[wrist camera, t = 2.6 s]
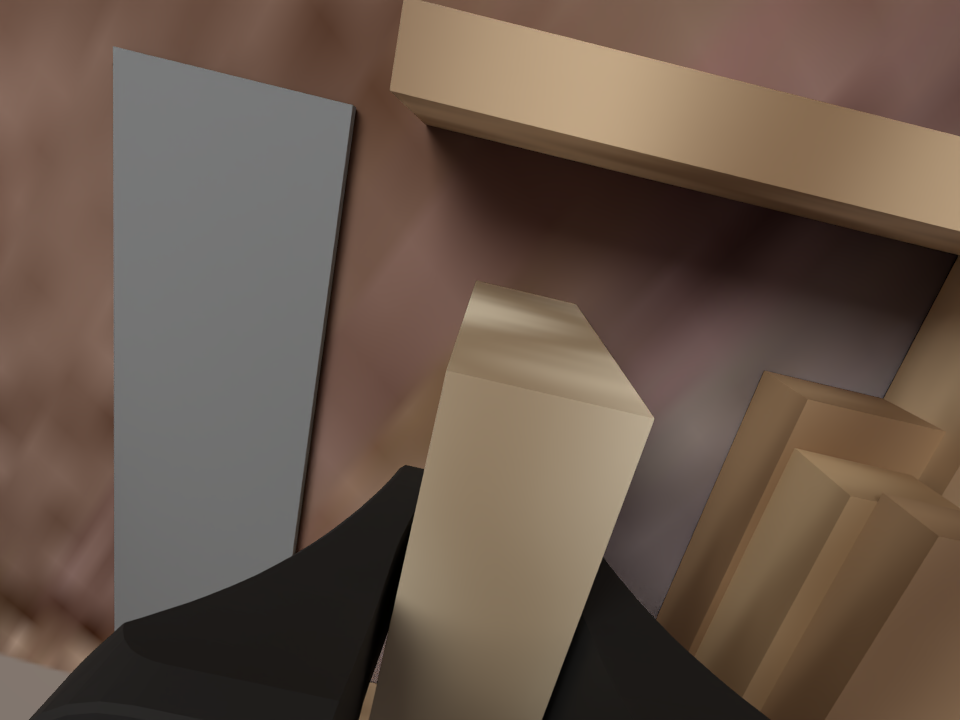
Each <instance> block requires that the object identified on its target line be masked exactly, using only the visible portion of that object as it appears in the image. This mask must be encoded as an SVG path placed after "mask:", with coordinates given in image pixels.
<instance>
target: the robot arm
mask: <svg viewBox="0 0 960 720" xmlns="http://www.w3.org/2000/svg"><path fill="white" fill-rule="evenodd" d="M423 474H424V469H421V468H416V467H412V466H407V465H405V466H403V467H401V468H400V469H399V470H398V471H397V472H396V474H395V475H394V476H393V477H392V478H391V479H390V480H389V481H388V482H387V483H386V485H385V486H383V487H382V488H381V489H380V490H379V491H378V492H377V493H376V494H375V495H374V496H373V497H372V498H371V499H370V500H369V501H367V502H366V503H365V504H364V505H363V506H362V507H361V508H360V509H358V510H357V511H356V512H355V513H353V514H352V515H351V516H350V517H348V518H347V519H346V520H344V521H343V522H342V523H341V524H339V525H338V526H337V527H335V528H334V529H333V530H331V531H330V532H329V533H327V534H326V535H324V536H323V537H321V538H320V539H318V540H317V541H315V542H314V543H312V544H311V545H309V546H307V547H306V548H304V549H303V550H301V551H299V552H298V553H296V554H294V555H293V556H291V557H289V558H287V559H285V560H284V561H282V562H280V563H278V564H276V565H274V566H273V567H271V568H269V569H267V570H265V571H263V572H261V573H259V574H257V575H255V576H253V577H251V578H248V579H246V580H244V581H242V582H239V583H237V584H235V585H232V586H230V587H228V588H225V589H223V590H220V591H218V592H215V593H212V594H210V595H207V596H205V597H202V598H199V599H197V600H194V601H191V602H188V603H185V604H182V605H179V606H176V607H173V608H170V609H167V610H164V611H160V612H157V613H154V614H151V615H148V616H145V617H142V618H139V619H135V620H132V621H128V622H125V623H123V624H122V625H121V626H120V627H119V628H118V629H117V630H116V631H115V632H114V633H113V634H112V635H111V636H110V637H108V638H107V639H106V640H105V641H104V642H103V643H102V644H100V645H99V646H98V647H97V648H96V649H95V650H94V651H93V652H92V653H91V654H90V655H89V656H88V657H87V658H86V659H85V660H84V661H83V662H82V663H81V664H80V665H79V666H78V667H77V668H76V669H75V670H74V671H73V672H72V673H71V674H70V675H69V676H68V677H67V679H66V680H65V681H64V682H63V683H62V684H61V685H60V686H59V687H58V689H57V690H56V691H55V692H54V693H53V694H52V695H51V696H50V697H49V698H48V699H47V701H46V702H45V703H44V704H43V705H42V706H41V707H40V708H39V709H38V710H37V712H36V713H35V714H34V715H33V716H32V717H31V718H30V719H29V720H359V717H360V713H361V710H362V706H363V702H364V699H365V696H366V693H367V690H368V687H369V684H370V680H371V678H372V675H373V672H374V669H375V667H376V664H377V661H378V658H379V656H380V653H381V650H382V647H383V644H384V642H385V639H386V636H387V633H388V631H389V627H390V622H391V618H392V613H393V609H394V604H395V600H396V595H397V591H398V586H399V582H400V577H401V573H402V568H403V564H404V559H405V555H406V550H407V546H408V541H409V537H410V532H411V528H412V523H413V519H414V514H415V510H416V505H417V501H418V496H419V492H420V487H421V483H422V478H423ZM542 720H771V719H769V718H768V717H767V716H765V715H764V714H763V713H762V712H760V711H759V710H758V709H756V708H755V707H754V706H752V705H751V704H750V703H748V702H747V701H746V700H745V699H743V698H742V697H741V696H740V695H738V694H737V693H736V692H735V691H733V690H732V689H731V688H730V687H729V686H727V685H726V684H725V683H724V682H722V681H721V680H720V679H719V678H718V677H716V676H715V675H714V674H713V673H712V672H711V671H710V670H709V669H707V668H706V667H705V666H704V665H703V664H702V663H701V662H700V661H698V660H697V659H696V658H695V657H694V656H693V655H692V654H691V653H689V652H688V651H687V650H686V649H685V648H684V647H683V646H682V645H681V644H680V643H679V642H678V641H677V640H676V639H675V638H674V637H672V636H671V635H670V633H669V632H668V631H667V630H666V629H665V628H664V627H663V626H662V625H661V624H660V623H659V622H658V621H657V620H656V619H655V618H654V617H653V616H652V615H651V614H650V613H649V612H648V611H647V610H646V609H645V608H644V606H643V605H642V604H641V603H640V602H639V601H638V600H637V599H636V597H635V596H634V595H633V594H632V593H631V592H630V590H629V589H628V588H627V587H626V586H625V584H624V583H623V582H622V581H621V580H620V578H619V577H618V576H617V575H616V573H615V572H614V571H613V570H612V568H611V567H610V566H609V565H608V563H607V562H606V561H605V559H604V558H602V560H601V563H600V566H599V568H598V571H597V574H596V577H595V579H594V582H593V585H592V587H591V590H590V593H589V595H588V598H587V601H586V603H585V606H584V609H583V611H582V614H581V617H580V619H579V622H578V625H577V627H576V630H575V633H574V635H573V638H572V641H571V643H570V646H569V649H568V651H567V654H566V657H565V659H564V662H563V665H562V667H561V670H560V673H559V675H558V678H557V681H556V683H555V686H554V689H553V691H552V694H551V697H550V699H549V702H548V705H547V707H546V710H545V713H544V715H543V718H542Z"/></svg>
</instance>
